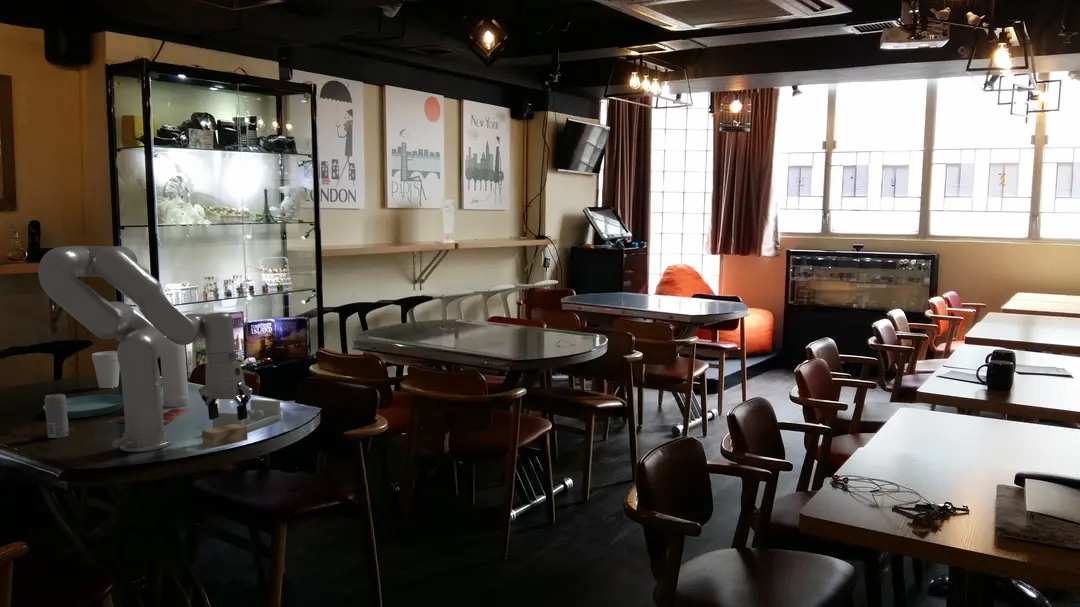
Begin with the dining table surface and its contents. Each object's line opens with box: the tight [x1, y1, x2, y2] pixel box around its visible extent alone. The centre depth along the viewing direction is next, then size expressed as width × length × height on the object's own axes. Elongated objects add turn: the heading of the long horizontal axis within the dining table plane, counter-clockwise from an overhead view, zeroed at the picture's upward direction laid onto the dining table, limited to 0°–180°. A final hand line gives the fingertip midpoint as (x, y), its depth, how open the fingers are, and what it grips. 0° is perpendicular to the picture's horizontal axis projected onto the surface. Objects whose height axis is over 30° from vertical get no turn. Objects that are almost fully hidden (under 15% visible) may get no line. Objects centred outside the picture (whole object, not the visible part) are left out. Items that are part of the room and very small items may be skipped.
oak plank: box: [201, 423, 248, 448], centre depth 235 cm, size 10×6×4 cm, turn 138°
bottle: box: [159, 336, 190, 408], centre depth 283 cm, size 8×8×30 cm
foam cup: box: [91, 350, 120, 389], centre depth 318 cm, size 10×9×13 cm
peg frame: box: [212, 398, 282, 434], centre depth 252 cm, size 18×10×6 cm, turn 161°
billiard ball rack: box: [116, 407, 189, 426], centre depth 268 cm, size 18×2×20 cm
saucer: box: [42, 394, 124, 419], centre depth 278 cm, size 24×24×3 cm
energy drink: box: [44, 393, 70, 439], centre depth 245 cm, size 5×5×12 cm
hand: (228, 418), depth 235 cm, fingers open, 9 cm apart
